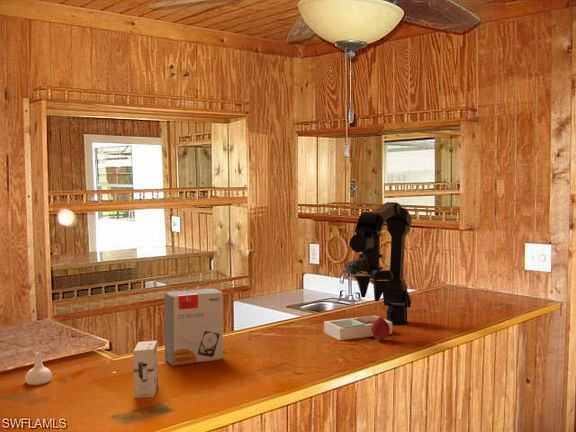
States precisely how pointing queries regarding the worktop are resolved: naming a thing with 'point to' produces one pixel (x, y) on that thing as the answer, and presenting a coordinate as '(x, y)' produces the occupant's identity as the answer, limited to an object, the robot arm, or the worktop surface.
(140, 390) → the ink box
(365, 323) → the white divided tray
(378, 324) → the onion
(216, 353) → the hard drive box
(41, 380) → the garlic bulb
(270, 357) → the worktop surface
